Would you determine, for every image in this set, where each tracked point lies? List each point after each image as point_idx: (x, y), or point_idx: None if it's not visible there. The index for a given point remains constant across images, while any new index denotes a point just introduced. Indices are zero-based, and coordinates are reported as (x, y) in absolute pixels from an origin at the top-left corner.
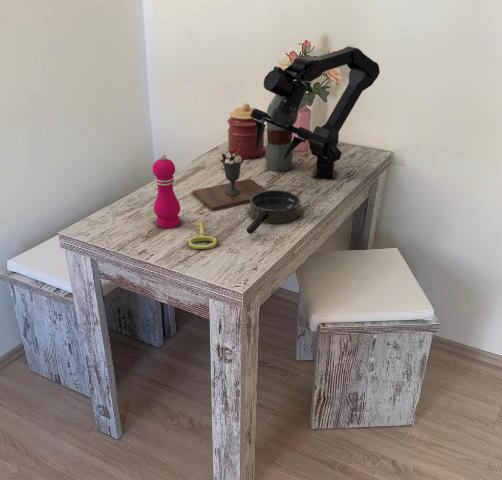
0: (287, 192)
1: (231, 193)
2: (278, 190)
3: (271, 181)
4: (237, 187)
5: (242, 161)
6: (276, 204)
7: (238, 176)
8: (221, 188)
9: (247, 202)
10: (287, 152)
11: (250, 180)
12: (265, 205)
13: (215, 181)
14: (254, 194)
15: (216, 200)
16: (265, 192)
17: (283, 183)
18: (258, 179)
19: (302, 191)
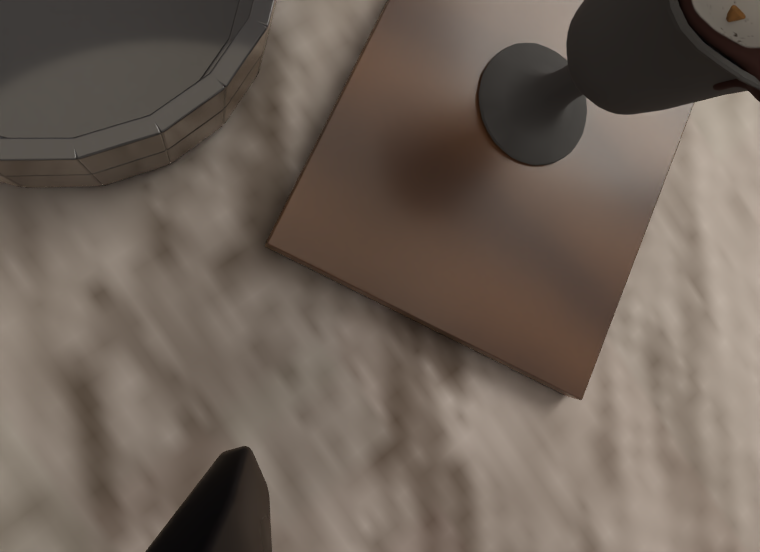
0: (6, 139)
1: (519, 57)
2: (132, 137)
3: (447, 511)
4: (556, 201)
5: (687, 23)
6: (130, 115)
7: (576, 45)
8: (627, 122)
9: (362, 50)
10: (189, 540)
11: (559, 372)
12: (201, 52)
13: (728, 252)
14: (382, 155)
15: None
16: (230, 44)
17: (347, 547)
18: (543, 473)
19: (100, 521)
